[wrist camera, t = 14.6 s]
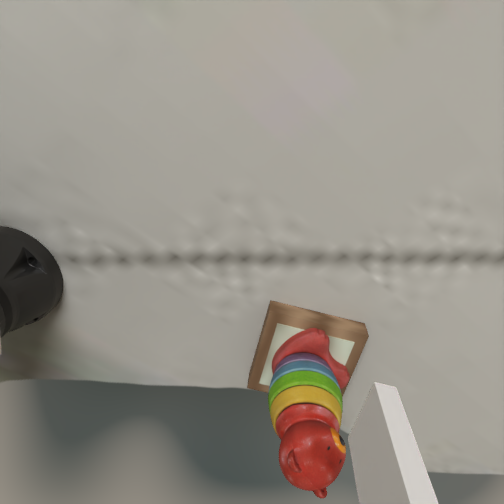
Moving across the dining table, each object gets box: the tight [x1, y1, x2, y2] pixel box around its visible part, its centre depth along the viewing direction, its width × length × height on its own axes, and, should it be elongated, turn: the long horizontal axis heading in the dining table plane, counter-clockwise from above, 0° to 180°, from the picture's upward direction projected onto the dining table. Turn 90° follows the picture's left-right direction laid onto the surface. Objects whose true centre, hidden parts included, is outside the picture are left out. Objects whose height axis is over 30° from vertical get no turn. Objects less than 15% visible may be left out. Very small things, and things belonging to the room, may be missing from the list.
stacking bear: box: [268, 328, 350, 498], centre depth 46 cm, size 11×10×18 cm
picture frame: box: [247, 300, 369, 396], centre depth 55 cm, size 14×14×3 cm
